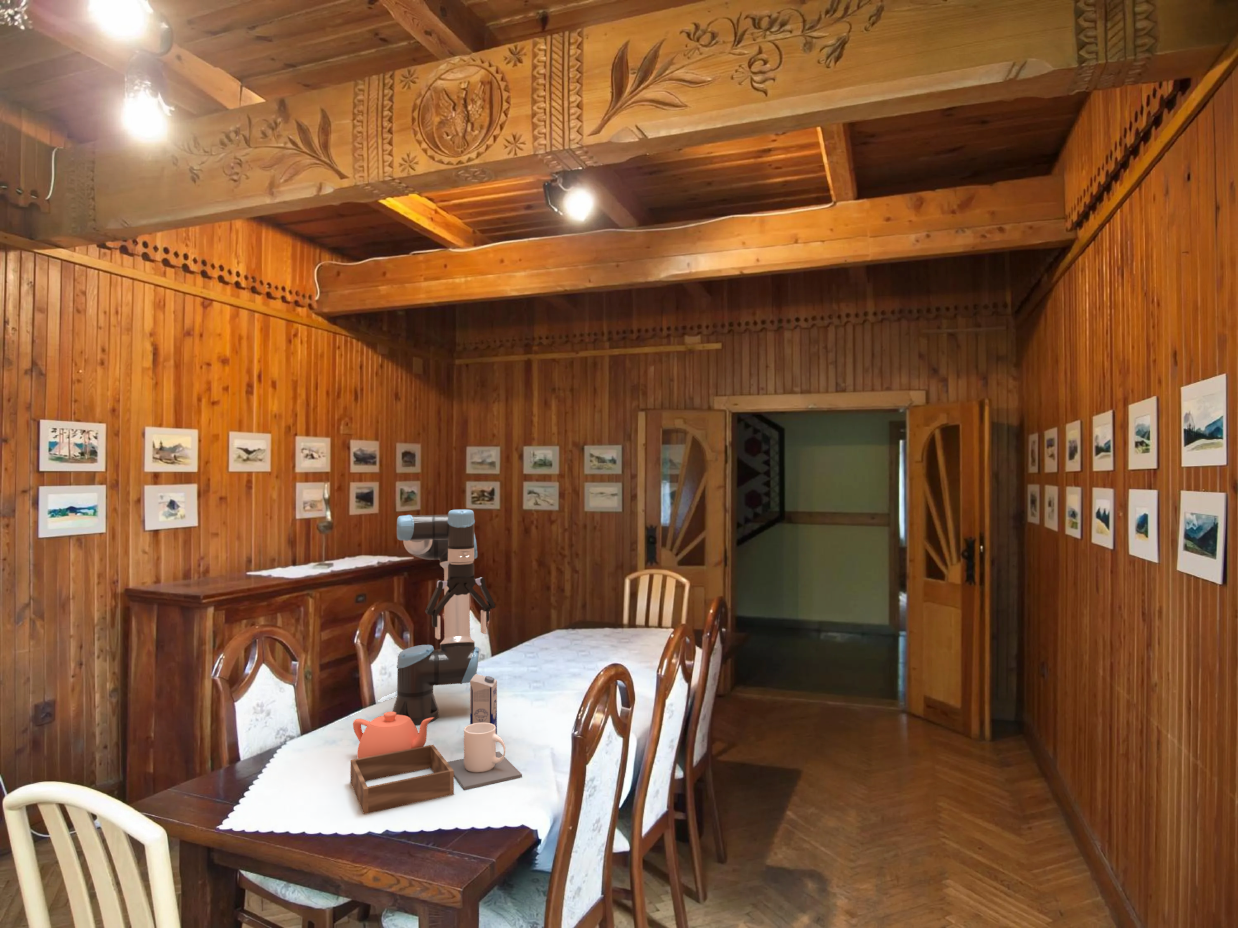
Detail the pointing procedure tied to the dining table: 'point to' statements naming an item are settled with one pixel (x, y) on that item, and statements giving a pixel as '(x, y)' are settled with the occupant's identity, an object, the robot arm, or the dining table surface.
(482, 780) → the slate trivet
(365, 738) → the teapot
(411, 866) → the dining table surface
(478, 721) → the milk carton
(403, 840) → the dining table surface
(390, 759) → the walnut caddy
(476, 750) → the mug
